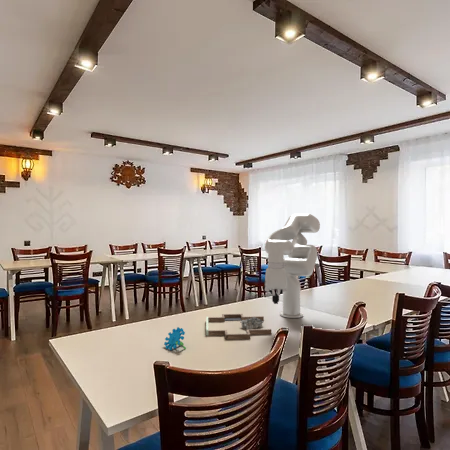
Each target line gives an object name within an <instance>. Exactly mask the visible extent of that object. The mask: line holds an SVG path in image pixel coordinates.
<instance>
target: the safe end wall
mask: <svg viewBox="0 0 450 450" xmlns="http://www.w3.org/2000/svg"><path fill="white" fill-rule="evenodd" d="M208 317H209V316H205V323H206V324H205V325H206V326H205V329H206V330H205V332H206V333H205V334H206V336H208V330H209V322H208ZM208 337H209V336H208Z"/></svg>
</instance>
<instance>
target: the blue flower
mask: <svg viewBox="0 0 450 450" xmlns="http://www.w3.org/2000/svg"><path fill="white" fill-rule="evenodd" d="M171 331H172V332H168V336H169V337H168V336H166V337H165V338H164V340H165V342H164V347H165V349H166V350H169V351H172V350H173V349H177V348H178V346H179V348H183V349H184V350H186V349H187V347H186V346H185V345H184V344H185V343H184V342H183V340H184V339H185V336H184V335H185V334H186V331H184V328H180V327H179V326H177V327H176V328H173V329H172V330H171ZM181 340H182V341H181Z"/></svg>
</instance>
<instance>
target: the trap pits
mask: <svg viewBox="0 0 450 450" xmlns="http://www.w3.org/2000/svg"><path fill="white" fill-rule="evenodd" d="M231 321H232V322H233V321H237V322H238V321H240V322H241V318H225V321H224V322H231Z"/></svg>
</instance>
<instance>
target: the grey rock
mask: <svg viewBox="0 0 450 450" xmlns="http://www.w3.org/2000/svg"><path fill="white" fill-rule="evenodd" d="M252 317H253V318H250V319H247V320H241V321H240V324H241V328H242V329H246V330H250V329H259V328H262V327H263V324H264V321H265V320H264V321H262V320H260V319H258V318H256V317H254V316H252Z"/></svg>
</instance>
